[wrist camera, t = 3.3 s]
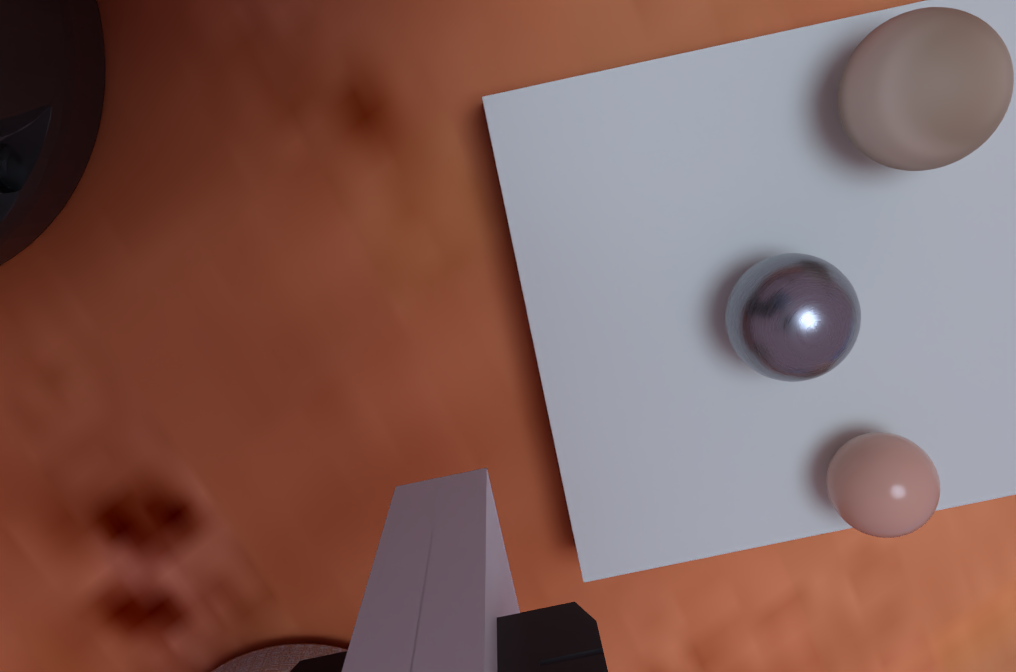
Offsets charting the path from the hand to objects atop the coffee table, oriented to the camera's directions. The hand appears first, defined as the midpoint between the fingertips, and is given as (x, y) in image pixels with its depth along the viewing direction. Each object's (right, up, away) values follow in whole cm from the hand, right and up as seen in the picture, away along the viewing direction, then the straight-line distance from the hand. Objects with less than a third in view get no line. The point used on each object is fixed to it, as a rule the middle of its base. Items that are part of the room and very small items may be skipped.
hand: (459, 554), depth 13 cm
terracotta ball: (+12, -1, +10) cm, 16 cm away
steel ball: (+9, +4, +9) cm, 13 cm away
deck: (+14, +6, +13) cm, 20 cm away
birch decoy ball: (+11, +10, +8) cm, 17 cm away
